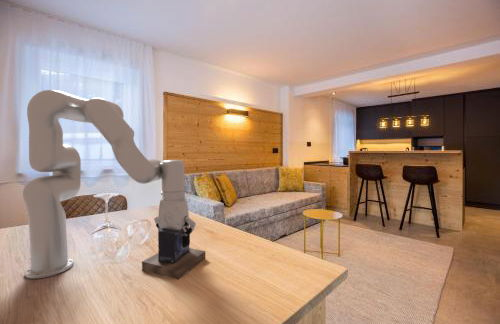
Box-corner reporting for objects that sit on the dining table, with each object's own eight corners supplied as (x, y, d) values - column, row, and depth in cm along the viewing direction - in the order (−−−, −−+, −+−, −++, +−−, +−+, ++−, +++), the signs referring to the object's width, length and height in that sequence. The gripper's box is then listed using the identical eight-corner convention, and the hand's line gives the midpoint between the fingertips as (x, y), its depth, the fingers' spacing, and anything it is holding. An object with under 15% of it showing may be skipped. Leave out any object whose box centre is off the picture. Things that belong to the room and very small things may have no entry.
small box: (175, 264, 77) (174, 232, 77) (157, 262, 79) (156, 231, 78) (190, 250, 88) (190, 222, 87) (174, 249, 89) (174, 221, 89)
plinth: (142, 270, 79) (141, 261, 79) (173, 252, 93) (173, 245, 93) (178, 279, 74) (177, 270, 73) (205, 259, 87) (205, 251, 87)
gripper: (146, 195, 82) (147, 244, 83) (187, 199, 75) (188, 252, 76) (162, 192, 89) (163, 237, 90) (200, 195, 82) (201, 243, 83)
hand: (174, 244), depth 83 cm, fingers open, 9 cm apart
